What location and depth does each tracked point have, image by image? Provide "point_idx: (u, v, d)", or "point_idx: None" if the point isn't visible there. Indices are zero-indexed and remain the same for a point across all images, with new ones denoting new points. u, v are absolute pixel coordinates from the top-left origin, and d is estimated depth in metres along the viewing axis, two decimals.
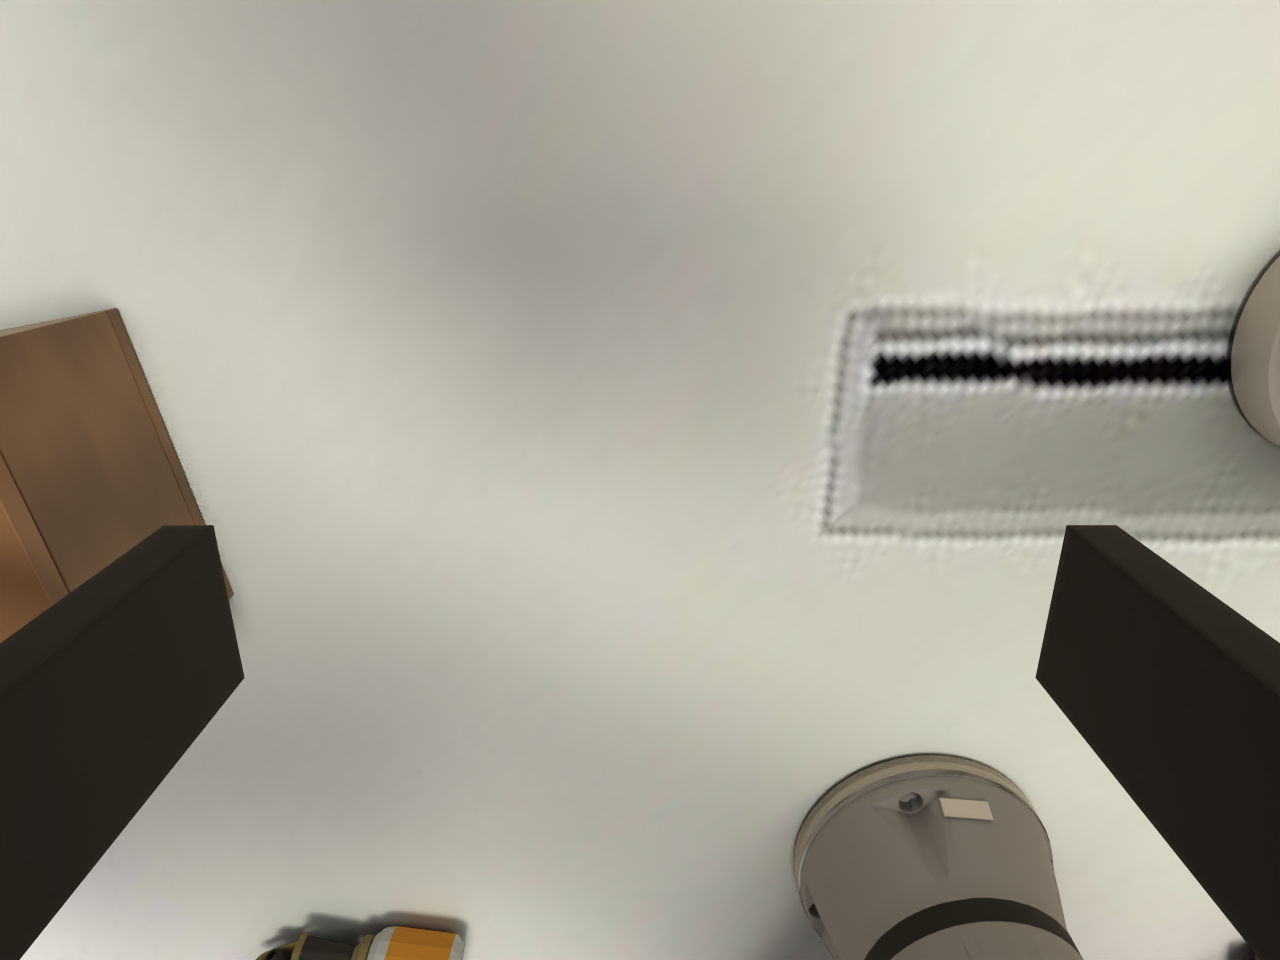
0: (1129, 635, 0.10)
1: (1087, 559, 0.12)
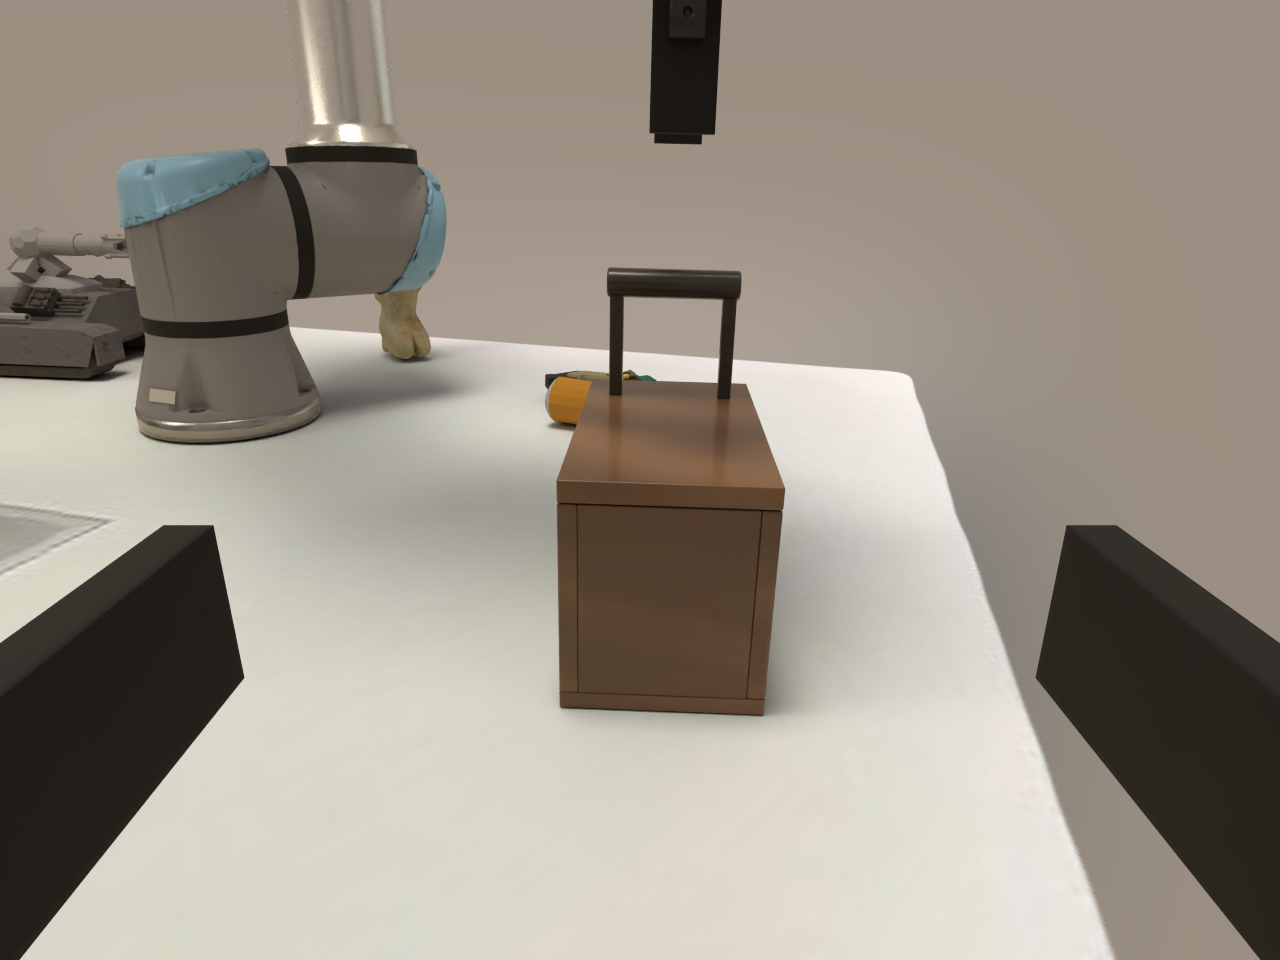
0: (1130, 635, 0.10)
1: (1087, 559, 0.11)
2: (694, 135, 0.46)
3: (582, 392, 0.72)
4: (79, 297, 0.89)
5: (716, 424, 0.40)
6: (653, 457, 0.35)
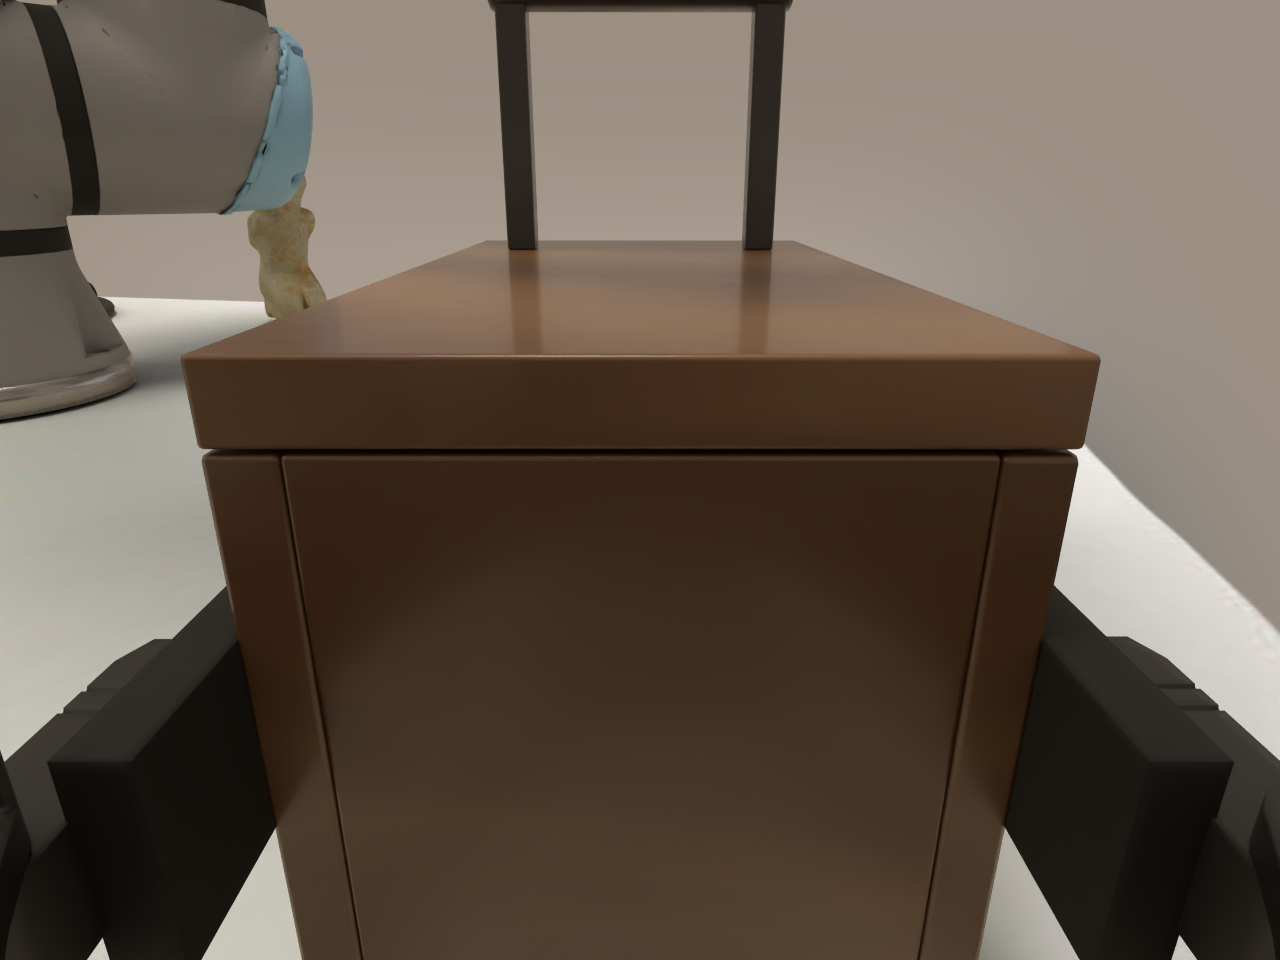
0: None
1: None
2: None
3: None
4: None
5: (759, 269, 0.16)
6: (585, 308, 0.11)
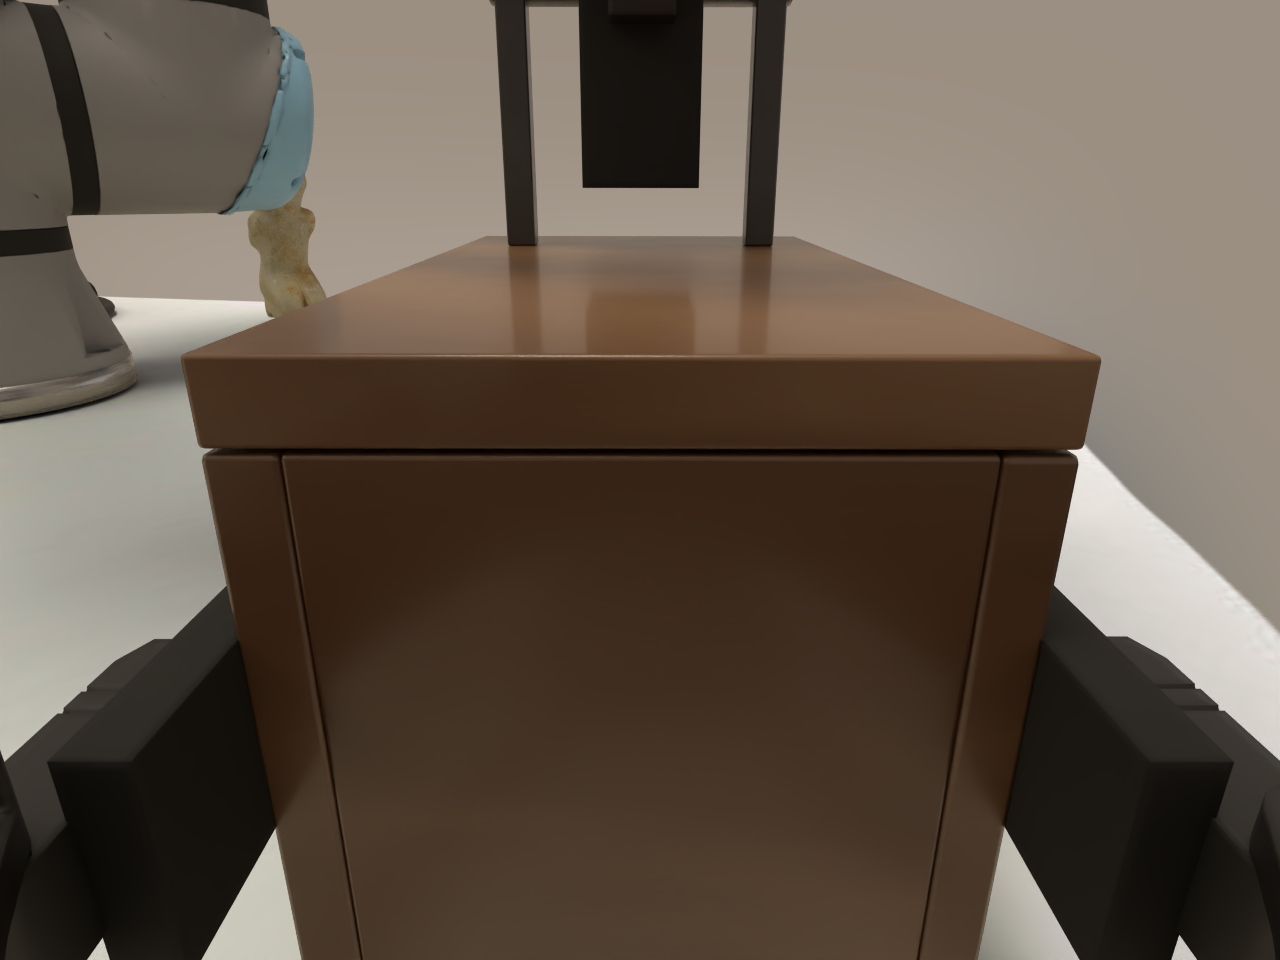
0: None
1: None
2: None
3: None
4: None
5: (759, 266, 0.16)
6: (586, 307, 0.11)
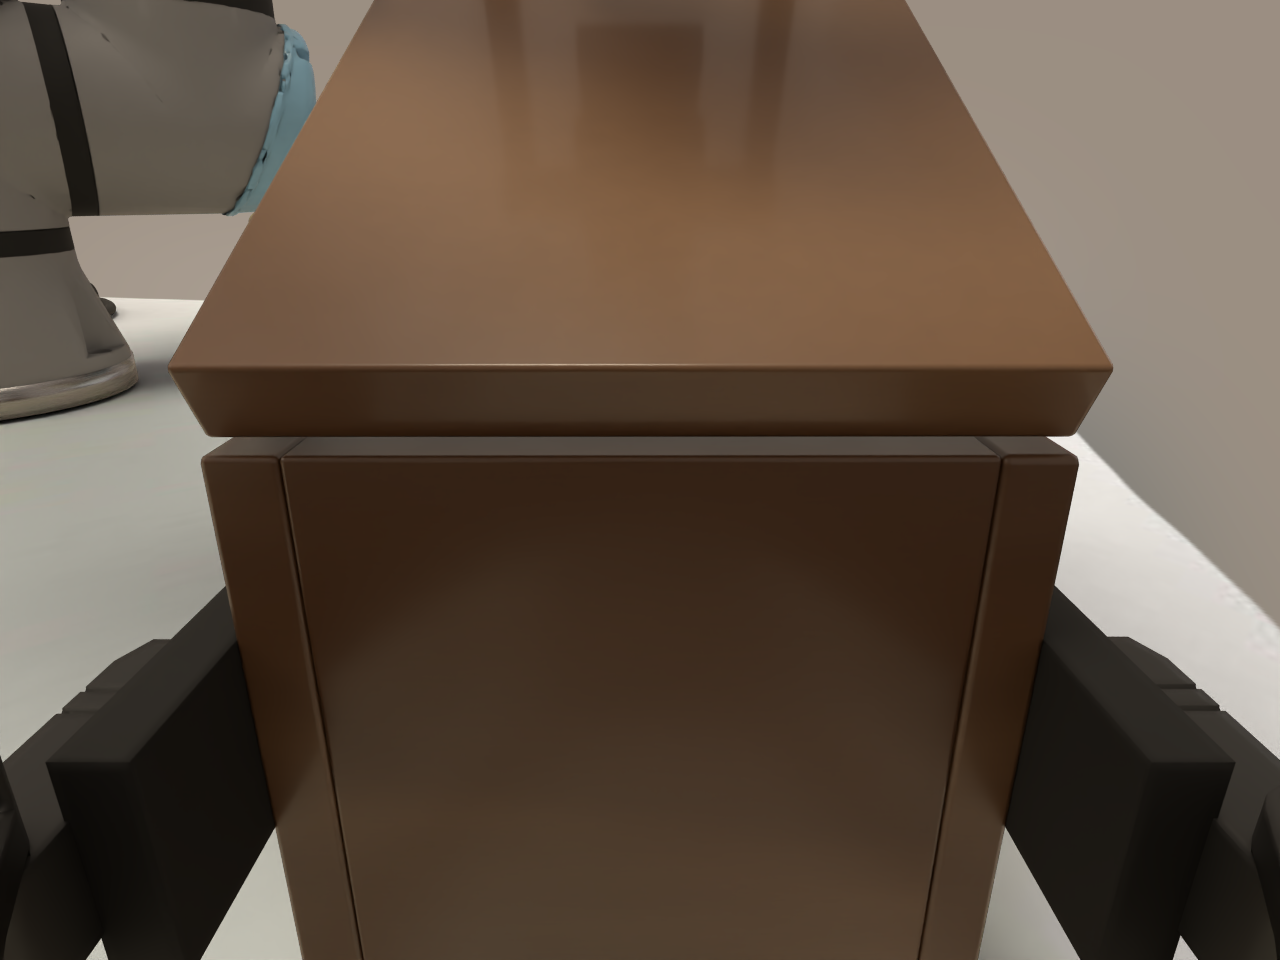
0: None
1: None
2: None
3: None
4: None
5: (783, 24, 0.13)
6: (579, 197, 0.10)
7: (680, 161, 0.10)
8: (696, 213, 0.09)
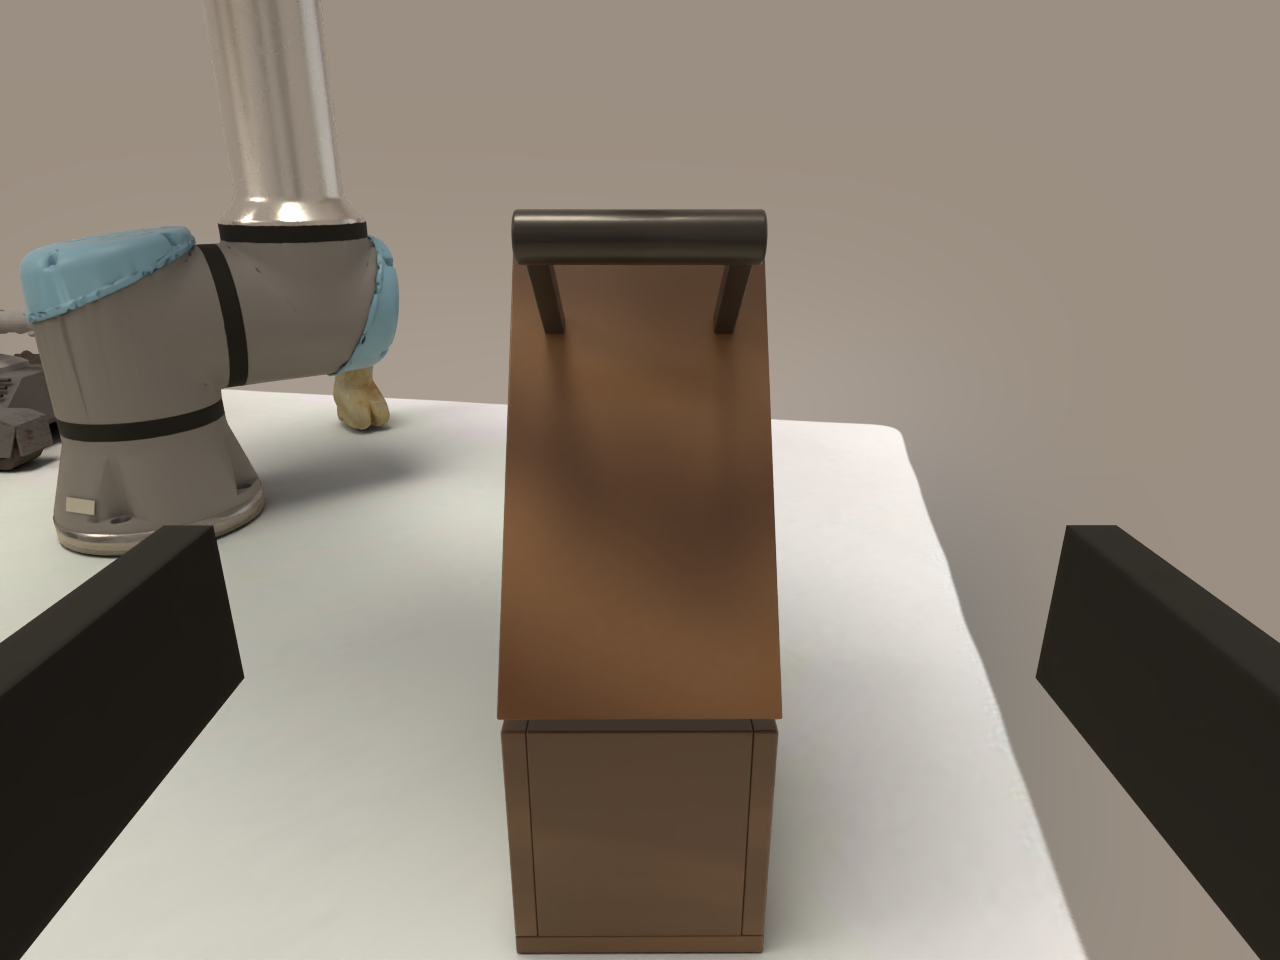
0: (1129, 635, 0.10)
1: (1087, 559, 0.11)
2: None
3: None
4: (1, 380, 0.81)
5: (707, 467, 0.27)
6: (617, 623, 0.26)
7: (654, 596, 0.26)
8: (659, 633, 0.26)
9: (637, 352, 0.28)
